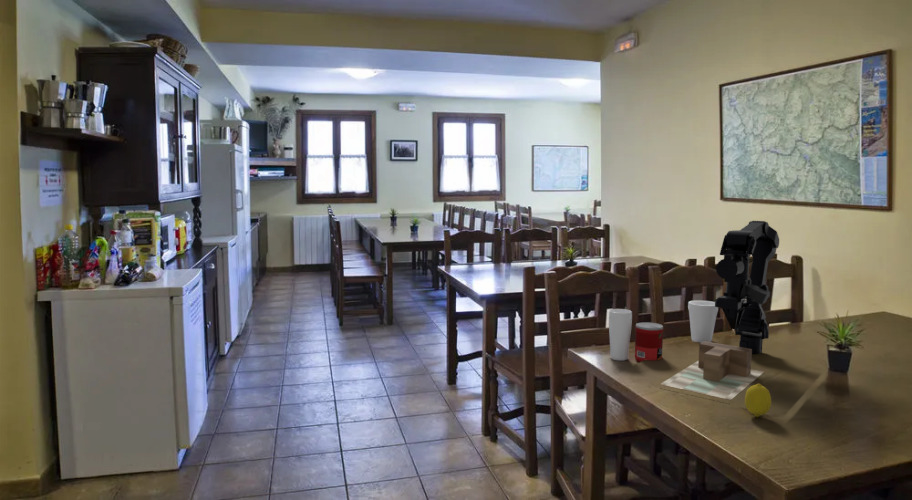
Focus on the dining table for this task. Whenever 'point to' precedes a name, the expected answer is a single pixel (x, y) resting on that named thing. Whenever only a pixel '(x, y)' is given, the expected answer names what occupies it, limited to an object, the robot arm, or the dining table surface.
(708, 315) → the foam cup
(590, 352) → the dining table surface
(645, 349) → the canned food
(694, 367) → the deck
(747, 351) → the t block
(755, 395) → the lemon
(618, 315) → the light grey tumbler
